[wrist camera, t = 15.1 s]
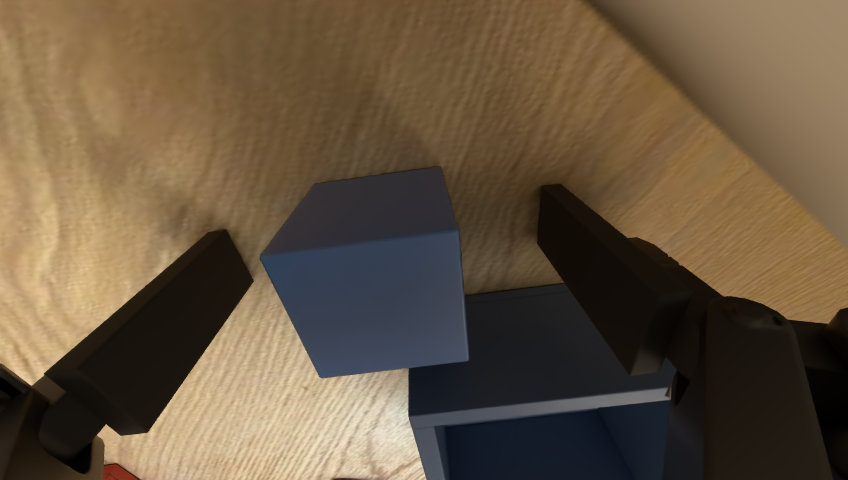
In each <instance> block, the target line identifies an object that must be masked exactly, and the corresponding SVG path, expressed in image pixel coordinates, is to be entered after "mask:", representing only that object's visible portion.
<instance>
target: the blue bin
mask: <svg viewBox="0 0 848 480" xmlns="http://www.w3.org/2000/svg"><path fill="white" fill-rule="evenodd" d="M465 308H466V321H467V334H468V347H469V360H468V361H464V362H455V363H447V364H438V365H430V366H421V367H413V368H409V401H408V417H409V420H410V424H411V427H412V430H413V433H414V437H415V440H416V444H417V447H418V451H419V454H420V458H421V461H422V465H423V468H424V472H425V475H426V479H427V480H662V472H663V463H664V454H665V445H666V436H667V427H668V418H669V409H670V399H671V397H670V398H668V397H666V396H665V393H666V391H667V389H668V387H669V385H670V383H671V381H672V379H673V377H674V375H675V373H676V371H677V369H676V368H675V367H674V366H673V364H672V363H671V362H670V361H669V360H668V359H667V358H665V360H664V362H663V365H662V367H661V369H660V371H659V372H658V373H649V374H641V375H632V376H629V374H628V373H627V371H626V370H625V369H624V367H623V366H622V364H621V363H620V361H619V360H618V359H617V357H616V356H615V354H614V353H613V351H612V350H611V349H610V347H609V346H608V344H607V343H606V341H605V340H604V338H603V337H602V336H601V334H600V333H599V331H598V330H597V328H596V327H595V326H594V324H593V323H592V321H591V320H590V318H589V317H588V316H587V314H586V313H585V311H584V310H583V308H582V307H581V306H580V304H579V303H578V301H577V300H576V298H575V297H574V296H573V294H572V293H571V291H570V290H569V288H568V287H567V286H566V284H558V285H550V286H542V287H534V288H526V289H518V290H510V291H502V292H494V293H486V294H478V295H470V296H465Z"/></svg>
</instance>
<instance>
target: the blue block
mask: <svg viewBox="0 0 848 480" xmlns="http://www.w3.org/2000/svg"><path fill="white" fill-rule="evenodd" d="M260 260H261V262H262V264H263V266H264V268H265V270H266V272H267V274H268V276H269V278H270V280H271V282H272V284H273V286H274V288H275V290H276V292H277V294H278V296H279V298H280V300H281V302H282V303H283V305H284V307H285V309H286V311H287V313H288V315H289V317H290V319H291V321H292V323H293V325H294V327H295V329H296V331H297V333H298V335H299V337H300V339H301V341H302V343H303V345H304V347H305V349H306V351H307V353H308V355H309V357H310V359H311V361H312V363H313V365H314V367H315V369H316V371H317V373H318V375H319V377H320V378H329V377H337V376H346V375H354V374H362V373H371V372H379V371H388V370H396V369H405V368H413V367H421V366H430V365H438V364H447V363H455V362H464V361H468V360H469V347H468V334H467V321H466V308H465V295H464V283H463V270H462V257H461V244H460V232H459V228H458V224H457V221H456V217H455V214H454V210H453V207H452V203H451V200H450V196H449V193H448V189H447V186H446V182H445V179H444V175H443V172H442V169H441V167H433V168H425V169H418V170H411V171H404V172H397V173H390V174H382V175H375V176H368V177H361V178H354V179H347V180H340V181H332V182H325V183H318V184H314V185H313V186H312V187H311V188H310V190H309V191H308V192H307V194H306V195H305V196H304V197H303V199H302V200H301V201H300V203H299V204H298V205H297V207H296V208H295V209H294V211H293V212H292V213H291V215H290V216H289V217H288V219H287V220H286V221H285V223H284V224H283V225H282V227H281V228H280V229H279V231H278V232H277V233H276V235H275V236H274V237H273V239H272V240H271V241H270V243H269V244H268V245H267V246H266V248H265V249H264V250H263V252H262V253H261V254H260Z"/></svg>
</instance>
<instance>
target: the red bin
mask: <svg viewBox="0 0 848 480" xmlns="http://www.w3.org/2000/svg"><path fill="white" fill-rule="evenodd" d="M103 480H138V479H137V478H135V477H134V476H133V475H131V474H130V473H128V472H127V471H125V470H124V469H123V468H121V467H120V466H118V465H117V464H114V465H106V466H104V467H103Z"/></svg>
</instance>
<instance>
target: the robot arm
mask: <svg viewBox="0 0 848 480" xmlns="http://www.w3.org/2000/svg"><path fill="white" fill-rule="evenodd" d="M537 244H538V245H539V247H540V248H541V250H542V251H543V253H544V254H545V255H546V257H547V258H548V260H549V261H550V263H551V264H552V265H553V267H554V268H555V270H556V271H557V273H558V274H559V276H560V277H561V278H562V280H563V281H564V283H565V284H566V286H567V287H568V288H569V290H570V291H571V293H572V294H573V296H574V297H575V298H576V300H577V301H578V303H579V304H580V306H581V307H582V308H583V310H584V311H585V313H586V314H587V316H588V317H589V318H590V320H591V321H592V323H593V324H594V326H595V327H596V328H597V330H598V331H599V333H600V334H601V336H602V337H603V338H604V340H605V341H606V343H607V344H608V346H609V347H610V349H611V350H612V351H613V353H614V354H615V356H616V357H617V359H618V360H619V361H620V363H621V364H622V366H623V367H624V369H625V370H626V371H627V373H628V374H629V376H632V375H641V374H649V373H658V372H659V371H660V369H661V367H662V365H663V362H664V360H665V358H667V359H668V360H669V361H670V362H671V363H672V364H673V366H674V367H675V368H676V369H677V371H676V373H675V375H674V377H673V379H672V381H671V383H670V385H669V387H668V389H667V391H666V393H665V396H666V397H668V398H670V397H671V399H670V409H669V418H668V427H667V436H666V445H665V454H664V463H663V472H662V480H848V308H844V309H840V310H839V311H838V312H837V314H836V315H835V316H834V317H833V319H832V320H831V321H830V323H829V324H824V323H815V322H805V321H795V320H787V319H786V318H785V317H784V316H782V315H781V314H780V313H778V312H777V311H775V310H773V309H771V308H769V307H767V306H765V305H763V304H761V303H758V302H755V301H752V300H748V299H745V298H738V297H732V296H727V297H723V296H722V295H721V294H719V293H718V292H717V291H715V290H714V289H713V288H711V287H710V286H709V285H707V284H706V283H705V282H703V281H702V280H701V279H699V278H698V277H697V276H695V275H694V274H693V273H691V272H690V271H689V270H687V269H686V268H685V267H683V266H682V265H681V266H680V265H679V263H678V262H677V261H675V260H674V259H673V258H671V257H668V255H667V254H666V253H665V252H663V251H662V250H661V249H659V248H658V247H657V246H655V245H654V244H651V243H649V242H647V241H644V240H642V239H640V238H637V237H634V238H627V237H625V236H624V235H623V234H622V233H620V232H619V231H618V230H617V229H615V228H614V227H613V226H612V225H611V224H609V223H608V222H607V221H606V220H604V219H603V218H602V217H601V216H600V215H598V214H597V213H596V212H595V211H593V210H592V209H591V208H590V207H589V206H587V205H586V204H585V203H584V202H582V201H581V200H580V199H579V198H577V197H576V196H575V195H574V194H573V193H571V192H570V191H569V190H568V189H566V188H565V187H564V186H563V185H562V184H556V185H549V186H542V189H541V202H540V216H539V229H538V242H537ZM253 282H254V281H253V279H252V277H251V275H250V273H249V271H248V269H247V268H246V266H245V264H244V262H243V260H242V258H241V256H240V255H239V253H238V251H237V249H236V247H235V245H234V243H233V242H232V240H231V238H230V236H229V234H228V232H227V230H221V231H214V232H208V233H207V234H206V235H205V236H203V237H202V238H201V239H200V240H199V241H198V242H196V243H195V244H194V245H193V246H192V247H191V248H189V249H188V250H187V251H186V252H185V253H184V254H182V255H181V256H180V257H179V258H178V259H177V260H176V261H174V262H173V263H172V264H171V265H170V266H169V267H167V268H166V269H165V270H164V271H163V272H162V273H160V274H159V275H158V276H157V277H156V278H155V279H153V280H152V281H151V282H150V283H149V284H148V285H146V286H145V287H144V288H143V289H142V290H141V291H139V292H138V293H137V294H136V295H135V296H134V297H132V298H131V299H130V300H129V301H128V302H127V303H125V304H124V305H123V306H122V307H121V308H120V309H118V310H117V311H116V312H115V313H114V314H113V315H111V316H110V317H109V318H108V319H107V320H106V321H104V322H103V323H102V324H101V325H100V326H99V327H97V328H96V329H95V330H94V331H93V332H92V333H90V334H89V335H88V336H87V337H86V338H85V339H83V340H82V341H81V342H80V343H79V344H78V345H77V346H75V347H74V348H73V349H72V350H71V351H70V352H68V353H67V354H66V355H65V356H64V357H63V358H61V359H60V360H59V361H58V362H57V363H56V364H54V365H53V366H52V367H51V368H50V369H49V370H47V371H46V372H45V373H44V376H43V377H42V378H41V379H39V380H38V381H37V382H36V383H35V384H34V385H32V386H31V385H29V384H28V383H27V382H25V381H24V380H23V379H21V378H20V377H19V376H17V375H16V374H15V373H13V372H12V371H11V370H10V369H8V368H7V367H6V366H4V365H3V364H0V480H103V467H104V447H105V445H104V442H103V440H102V439H101V438H100V437H98V436H97V434H98V433H99V432H100V431H101V430H102V428H103V427H104V426H105V425H106V424H107V425H108V426H109V427H110V428H112V429H113V430H114V431H115V432H117V433H118V434H119V435H120V436H123V435H132V434H140V433H148V431H149V430H150V428H151V427H152V426H153V424H154V423H155V421H156V420H157V418H158V417H159V416H160V414H161V413H162V411H163V410H164V408H165V407H166V406H167V404H168V403H169V401H170V400H171V399H172V397H173V396H174V394H175V393H176V391H177V390H178V389H179V387H180V386H181V384H182V383H183V381H184V380H185V379H186V377H187V376H188V374H189V373H190V371H191V370H192V369H193V367H194V366H195V364H196V363H197V361H198V360H199V359H200V357H201V356H202V354H203V353H204V351H205V350H206V349H207V347H208V346H209V344H210V343H211V342H212V340H213V339H214V337H215V336H216V334H217V333H218V332H219V330H220V329H221V327H222V326H223V324H224V323H225V322H226V320H227V319H228V317H229V316H230V314H231V313H232V312H233V310H234V309H235V307H236V306H237V304H238V303H239V302H240V300H241V299H242V297H243V296H244V294H245V293H246V292H247V290H248V289H249V287H250V286H251V284H252V283H253Z"/></svg>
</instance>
